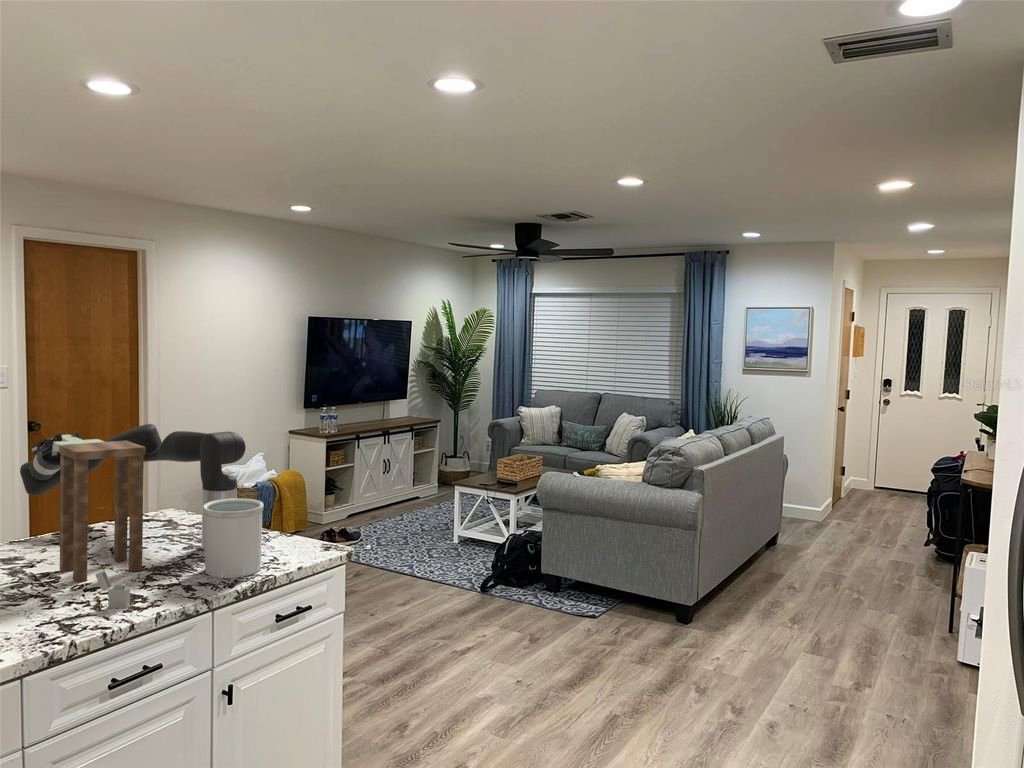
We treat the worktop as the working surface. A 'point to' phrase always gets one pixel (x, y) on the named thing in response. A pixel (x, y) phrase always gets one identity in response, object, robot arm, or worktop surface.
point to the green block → (72, 441)
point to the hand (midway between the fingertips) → (68, 435)
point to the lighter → (114, 592)
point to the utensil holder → (232, 537)
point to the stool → (77, 503)
